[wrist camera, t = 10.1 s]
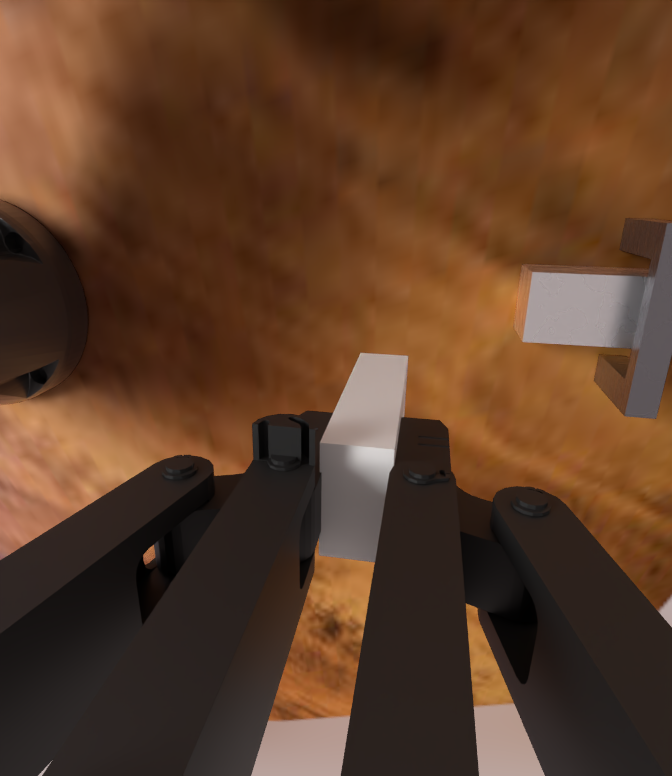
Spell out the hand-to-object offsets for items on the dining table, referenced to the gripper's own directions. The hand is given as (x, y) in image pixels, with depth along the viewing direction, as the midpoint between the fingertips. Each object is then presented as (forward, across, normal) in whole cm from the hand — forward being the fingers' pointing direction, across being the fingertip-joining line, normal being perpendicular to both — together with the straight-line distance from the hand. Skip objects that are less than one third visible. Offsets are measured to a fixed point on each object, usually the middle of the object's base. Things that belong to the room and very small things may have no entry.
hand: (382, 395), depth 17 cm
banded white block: (+19, +15, 0) cm, 24 cm away
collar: (+19, +13, 0) cm, 23 cm away
